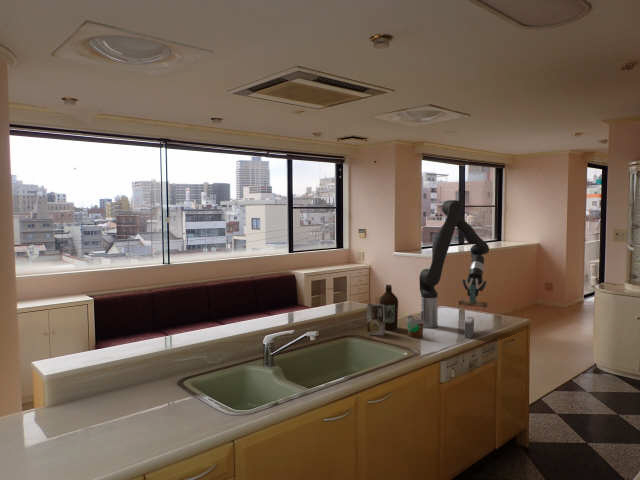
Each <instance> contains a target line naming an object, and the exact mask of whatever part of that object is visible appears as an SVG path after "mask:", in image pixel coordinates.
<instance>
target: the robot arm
mask: <svg viewBox="0 0 640 480" xmlns="http://www.w3.org/2000/svg"><path fill="white" fill-rule="evenodd" d="M463 209H464V207H463V203H462V201H461V200H457V199H454V200H453V199H448V200H446V201H444V202H443V203H442V205H441V210H442V213H443V215H445V216H446V218H445V221H444V223H443V225H442V226H441V227H440V228H439V230H438V231H437V232H436V234H435V235H434V239H433V242H432V244H431V251H432V253H431V254H432V257H431V258H432V261H431V264H430V267H429V268H424V269H423V270H421V271H420V273H419V291H420V295H421V296H420V297H421V298H420V299H421V301H420V303H421V304H420V307H421V309H420V320H423V321H424V324H423V328H427V329H434V328H435V329H436V328H437V327H438V323H439V322H438V321H439V317H438V312H439V310H438V307H439V305H438V300H439V299H438V297H439V296H438V295H439V294H438V292H437V290H436V288H435V287H436V286H437V285H438V284H439V283H440V280H441V277H442V273H443V267H444V263H445V261H446V257H447V254H448V251H449V249H450V248H449V247H450V245H451V242H452V239H453V236H454V233H455V229H456V228H457V230H458V231H459V232H460V234H461V235H462V236H463V238H464V239H465V241H466V243H468V244H469V245H471V247H470V251H469V252H470V257H471V262H470V266H469V270H468V277H467V278H466V279H462V284H463V286H464V289H465V291H467V292H466V293H467V294H466V295H467V296H468V297H470V285H476V291H475V297H476V298H477V297H478V296H479V292H483V290H485V288H486V286H487V285H488V283H487V280H483V275H484V265H485V257H484V256H483V255H486V254H488V253H489V251H490V247H489V245H488V243H487V242H486V241H485V240H483V238H481V237H480V236H479V235H478V233H476V230H474V228H473V226H472V225H470V224H469V223H468V222H467V221H466V220H464V219H463V218H462V213H463ZM467 283H468V285H467ZM479 286H480V287H479Z"/></svg>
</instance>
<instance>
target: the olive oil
mask: <svg viewBox="0 0 640 480" xmlns="http://www.w3.org/2000/svg"><path fill="white" fill-rule="evenodd" d="M378 304H384V310H385V331H395V330H397V329H398V317H399V314H398V313H399V299H398V297H397V295H395V294H394V293H393V290H392V285H391V284H386V285H385V292H384V293H383V294H382V296H380V298H379V302H378Z"/></svg>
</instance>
